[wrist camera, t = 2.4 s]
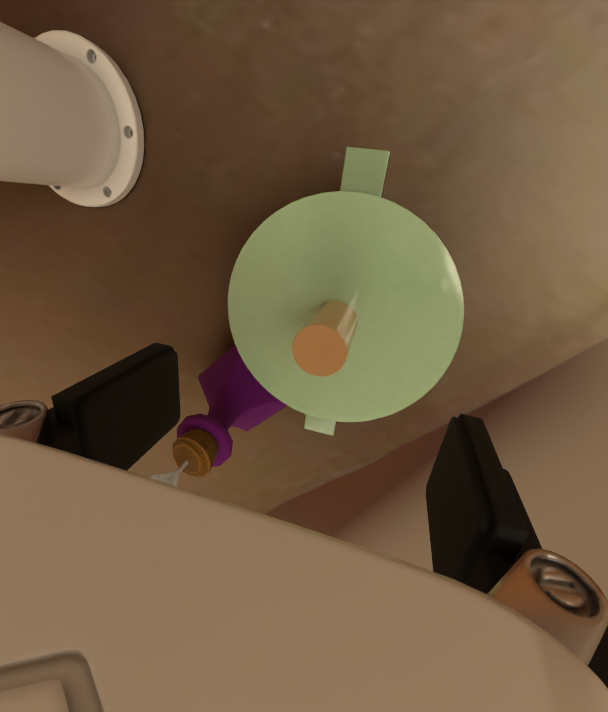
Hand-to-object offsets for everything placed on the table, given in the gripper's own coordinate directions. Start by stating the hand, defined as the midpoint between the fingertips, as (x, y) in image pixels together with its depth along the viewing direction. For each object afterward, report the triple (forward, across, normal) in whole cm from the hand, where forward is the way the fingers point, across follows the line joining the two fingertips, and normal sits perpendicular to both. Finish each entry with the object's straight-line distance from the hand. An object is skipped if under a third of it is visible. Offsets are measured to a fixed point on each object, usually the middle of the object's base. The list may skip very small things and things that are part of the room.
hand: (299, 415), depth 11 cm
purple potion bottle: (+20, +9, +10) cm, 24 cm away
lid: (+11, +1, 0) cm, 11 cm away
